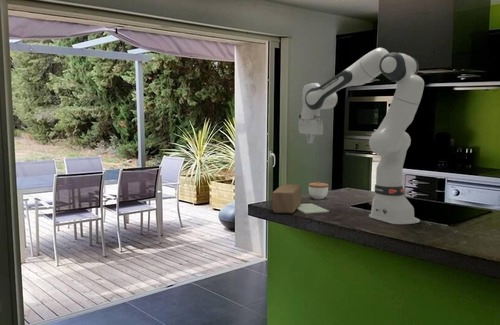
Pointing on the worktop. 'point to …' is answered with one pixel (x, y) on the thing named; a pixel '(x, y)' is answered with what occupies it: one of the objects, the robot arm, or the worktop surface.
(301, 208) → the mat
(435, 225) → the worktop surface
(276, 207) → the wooden block
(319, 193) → the lidded jar
